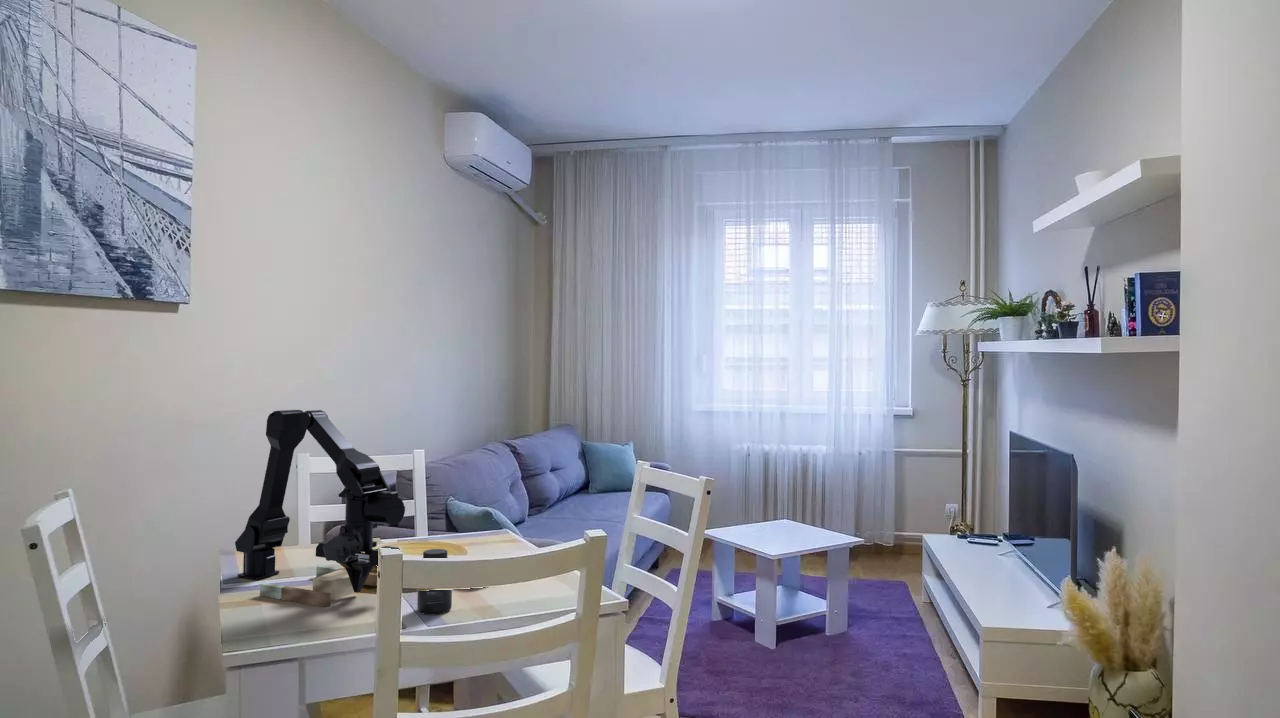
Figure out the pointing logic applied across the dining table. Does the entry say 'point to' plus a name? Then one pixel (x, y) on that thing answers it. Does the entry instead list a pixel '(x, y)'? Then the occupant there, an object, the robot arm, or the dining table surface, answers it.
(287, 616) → the dining table surface
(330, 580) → the light wood block
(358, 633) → the dining table surface
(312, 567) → the dining table surface
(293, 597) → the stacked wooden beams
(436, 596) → the supplement bottle
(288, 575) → the dining table surface
